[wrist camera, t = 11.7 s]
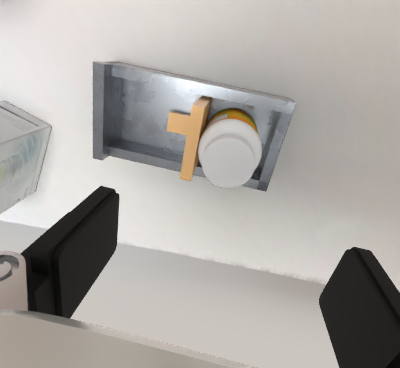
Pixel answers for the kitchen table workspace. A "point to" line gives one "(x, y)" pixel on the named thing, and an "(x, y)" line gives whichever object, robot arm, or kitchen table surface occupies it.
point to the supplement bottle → (230, 148)
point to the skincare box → (20, 153)
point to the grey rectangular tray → (179, 102)
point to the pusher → (190, 132)
